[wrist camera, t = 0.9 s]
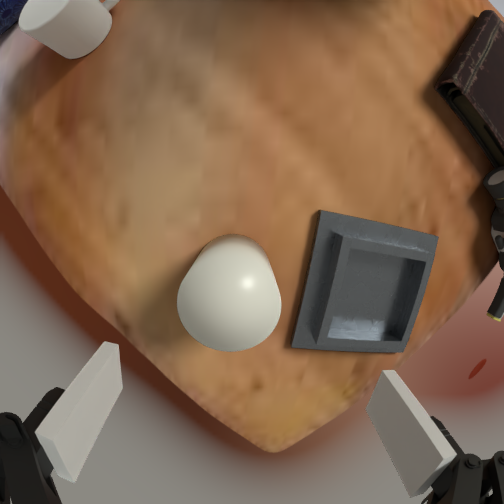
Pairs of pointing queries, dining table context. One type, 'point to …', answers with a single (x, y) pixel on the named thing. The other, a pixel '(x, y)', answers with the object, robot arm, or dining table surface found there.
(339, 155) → the dining table surface
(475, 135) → the diary
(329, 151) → the dining table surface
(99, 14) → the mug
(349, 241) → the grey square tray
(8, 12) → the planter
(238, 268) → the plug
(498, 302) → the film camera
